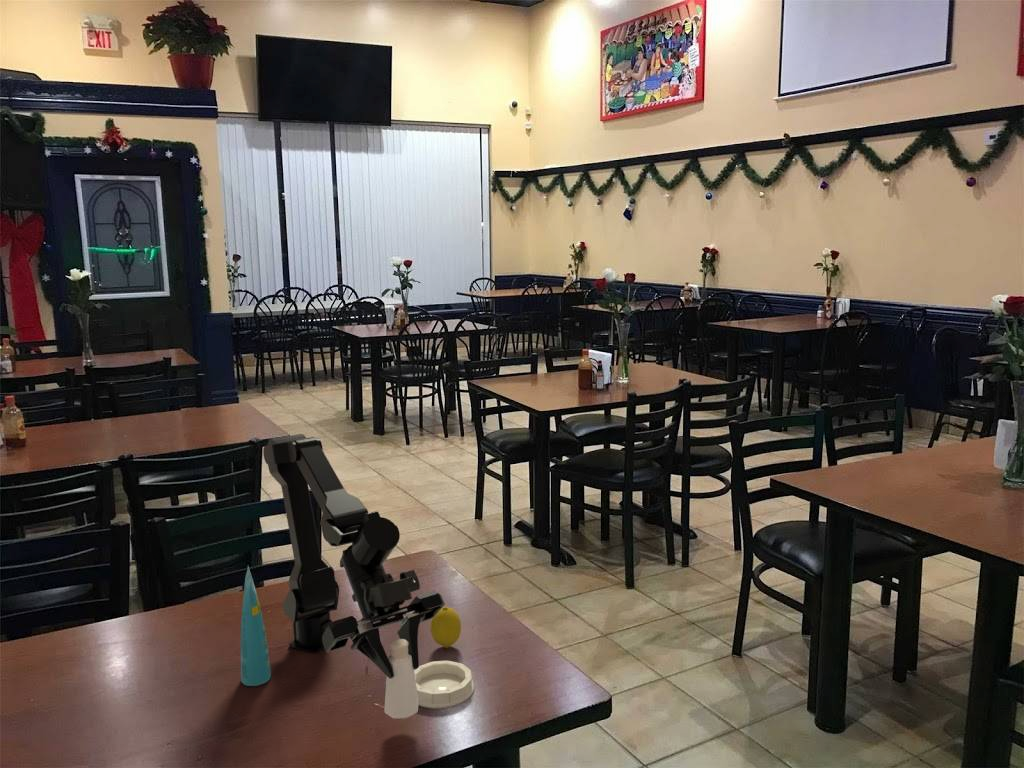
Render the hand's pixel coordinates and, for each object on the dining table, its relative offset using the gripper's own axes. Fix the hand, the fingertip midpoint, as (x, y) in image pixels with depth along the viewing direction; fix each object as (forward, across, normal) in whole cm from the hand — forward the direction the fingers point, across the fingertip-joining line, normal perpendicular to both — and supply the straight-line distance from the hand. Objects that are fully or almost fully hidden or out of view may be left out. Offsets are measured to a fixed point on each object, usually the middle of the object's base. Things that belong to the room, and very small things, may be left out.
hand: (404, 673), depth 121 cm
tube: (-13, -13, +28) cm, 34 cm away
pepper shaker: (+4, 0, +6) cm, 7 cm away
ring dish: (+2, +10, +12) cm, 16 cm away
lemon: (-6, +19, +21) cm, 29 cm away
